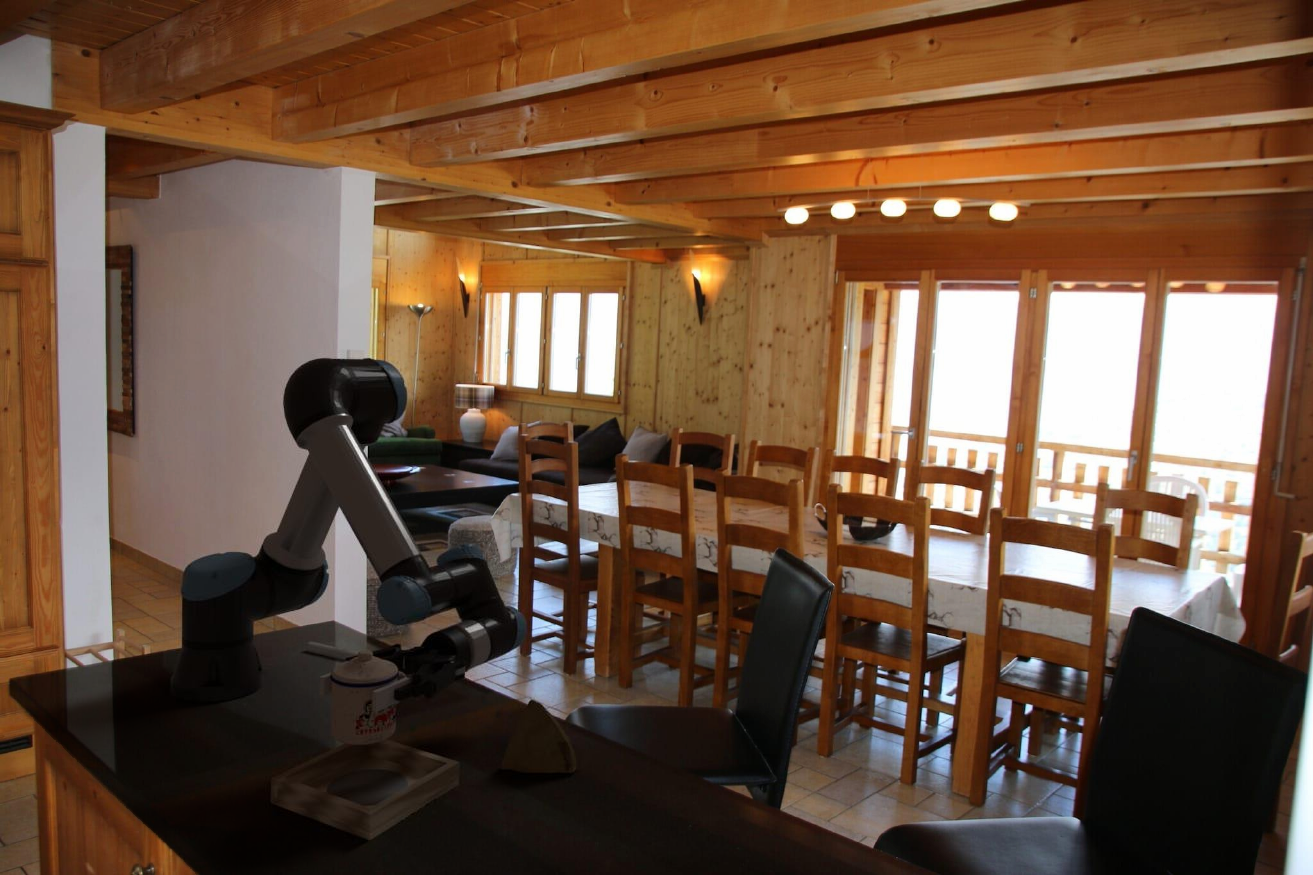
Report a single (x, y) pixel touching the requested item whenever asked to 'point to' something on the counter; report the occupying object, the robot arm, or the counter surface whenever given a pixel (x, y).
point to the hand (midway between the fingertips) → (347, 693)
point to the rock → (539, 744)
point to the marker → (330, 651)
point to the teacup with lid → (362, 700)
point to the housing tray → (365, 786)
